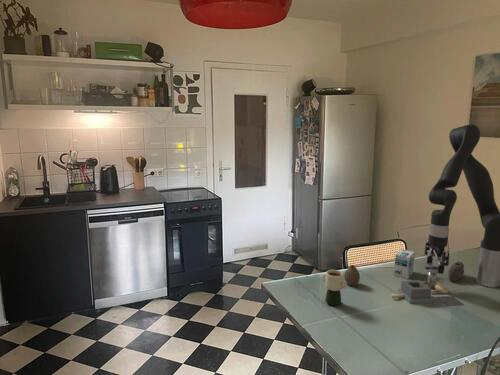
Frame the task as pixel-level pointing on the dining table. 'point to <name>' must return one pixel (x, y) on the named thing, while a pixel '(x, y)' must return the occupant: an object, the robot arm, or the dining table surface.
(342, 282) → the character mug
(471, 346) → the dining table surface
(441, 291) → the tray
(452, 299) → the mat
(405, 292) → the block
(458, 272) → the perforated stone tool
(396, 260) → the light bulb box
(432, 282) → the grey tabbed block
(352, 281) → the vase
